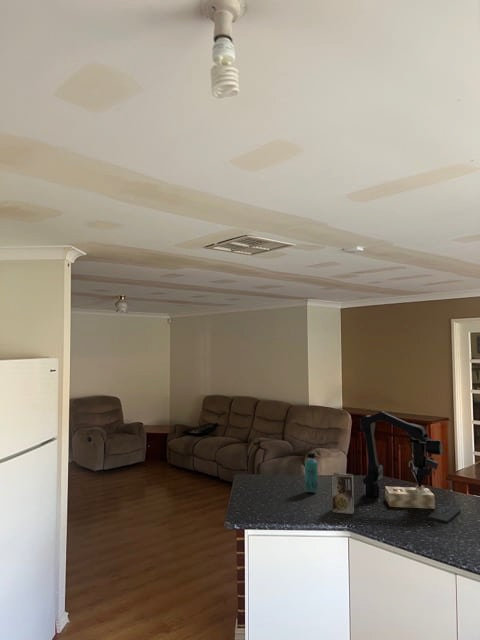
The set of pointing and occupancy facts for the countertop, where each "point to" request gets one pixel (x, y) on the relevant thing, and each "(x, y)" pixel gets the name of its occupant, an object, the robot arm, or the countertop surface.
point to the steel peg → (420, 488)
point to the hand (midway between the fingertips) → (419, 486)
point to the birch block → (409, 498)
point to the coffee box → (343, 493)
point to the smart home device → (444, 514)
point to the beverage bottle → (311, 473)
